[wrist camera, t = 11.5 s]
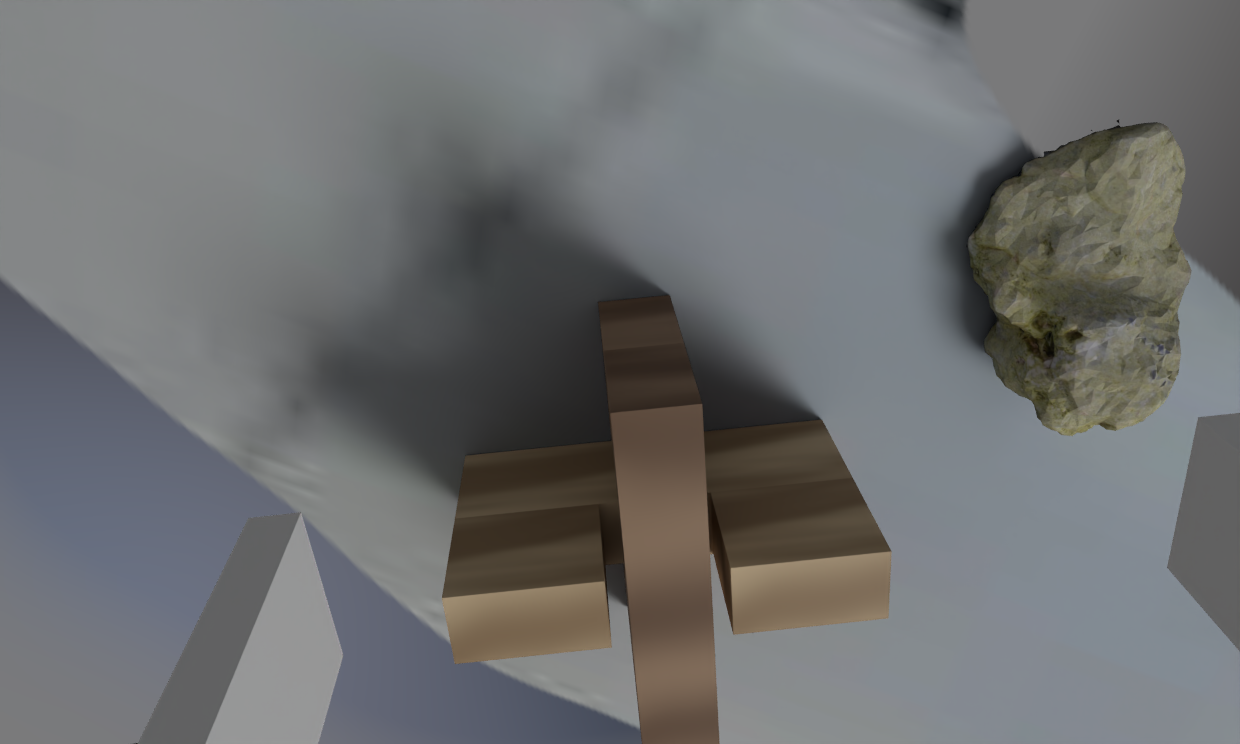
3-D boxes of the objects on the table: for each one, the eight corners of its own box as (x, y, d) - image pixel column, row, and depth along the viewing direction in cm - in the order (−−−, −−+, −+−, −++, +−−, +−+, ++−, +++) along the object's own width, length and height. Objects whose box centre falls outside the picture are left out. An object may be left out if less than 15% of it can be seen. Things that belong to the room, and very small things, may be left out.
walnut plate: (598, 302, 41) (610, 413, 32) (669, 295, 41) (702, 403, 32) (627, 607, 48) (644, 770, 38) (688, 601, 48) (720, 762, 39)
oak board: (465, 455, 43) (441, 598, 34) (821, 419, 44) (891, 551, 35) (475, 512, 45) (454, 664, 36) (821, 476, 45) (888, 618, 36)
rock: (1109, 86, 39) (905, 231, 40) (1231, 102, 34) (990, 271, 34) (1190, 290, 44) (1006, 418, 44) (1311, 335, 38) (1097, 482, 38)
